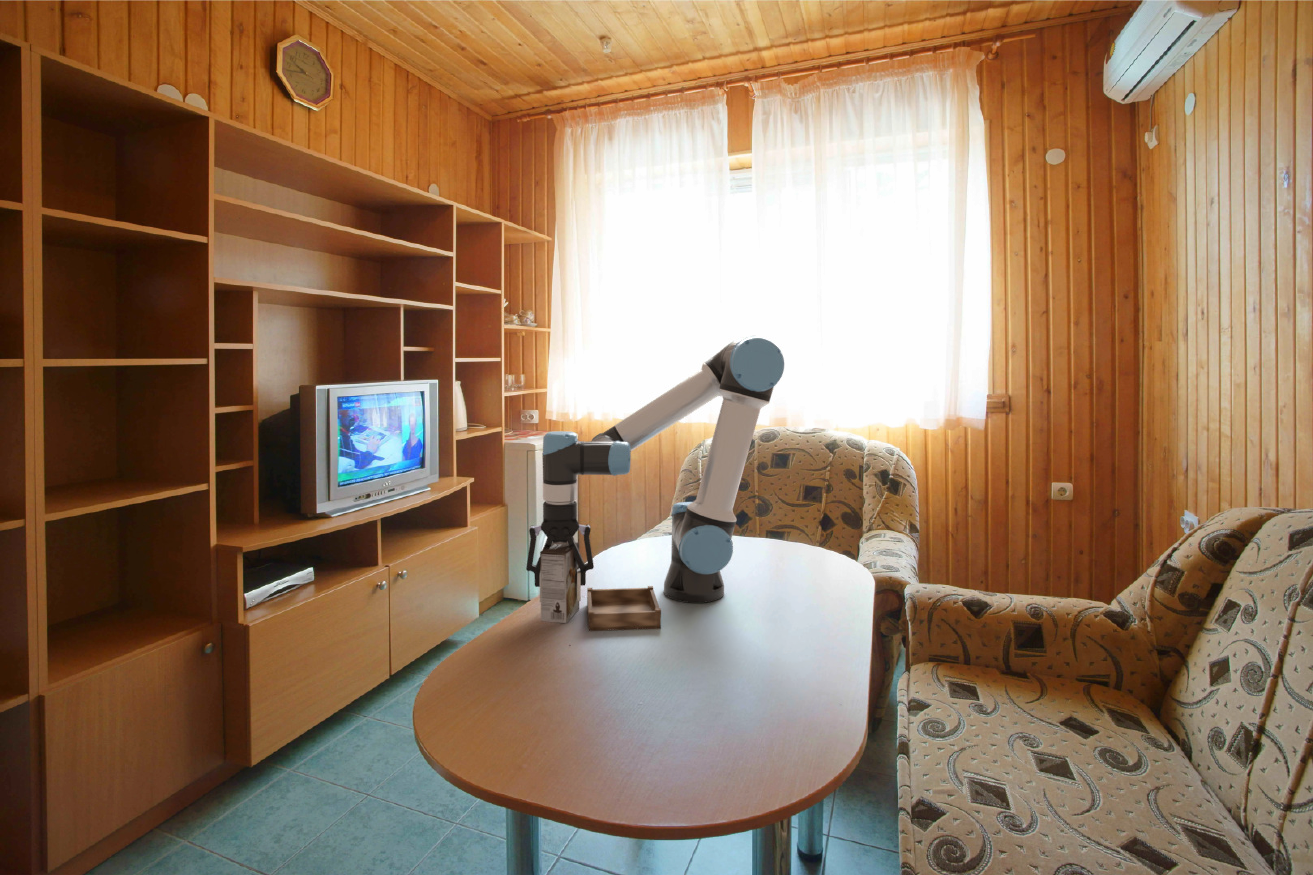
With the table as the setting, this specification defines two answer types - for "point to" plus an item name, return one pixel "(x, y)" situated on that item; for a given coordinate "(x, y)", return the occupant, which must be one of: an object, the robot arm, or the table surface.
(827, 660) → the table surface
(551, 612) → the coffee box
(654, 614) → the crate
